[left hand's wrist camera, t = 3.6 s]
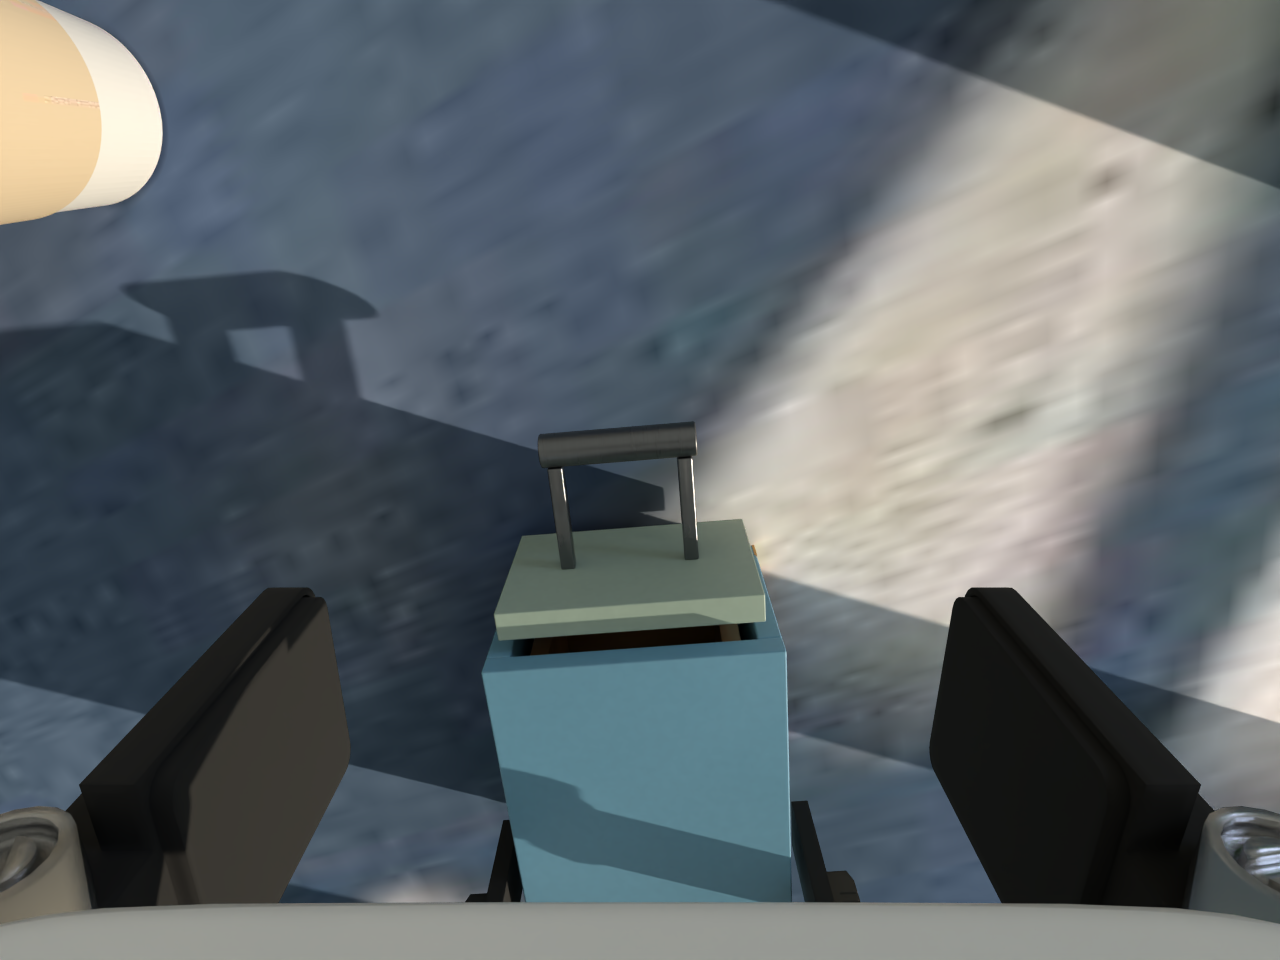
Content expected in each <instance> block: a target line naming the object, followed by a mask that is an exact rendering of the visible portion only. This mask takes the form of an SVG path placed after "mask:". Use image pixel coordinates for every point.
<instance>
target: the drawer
mask: <svg viewBox="0 0 1280 960" xmlns="http://www.w3.org/2000/svg"><path fill="white" fill-rule="evenodd" d="M538 455H539V461H540V464H541V467H542V468H548V470H547V471H548V478H549V485H550V492H551V499H552V506H553V514H554V521H555V528H556V533H555V534H542V535H529V536H522V538H521V541H520V543H519V546H518V549H517V552H516V554H515V557H514V560H513V563H512V566H511V568H510V571H509V574H508V577H507V579H506V582H505V585H504V588H503V591H502V593H501V596H500V599H499V602H498V604H497V607H496V610H495V613H494V619H495V624H496V630H497V635H498V640H499V641H502V640H516V639H530V638H535V639H534V643H533V647H532V651H531V655H530V656H532V655H546V654H560V653H574V652H588V651H602V650H616V649H630V648H644V647H658V646H672V645H686V644H699V643H713V642H727V641H741V637H740V632H739V627H738V623H750V622H764V621H766V611H765V593H764V590H763V587H762V583H761V580H760V577H759V573H758V570H757V567H756V563H755V560H754V557H753V553H752V550H751V547H750V543H749V540H748V537H747V533H746V530H745V527H744V524H743V520H742V519H735V520H722V521H709V522H697V521H696V505H695V490H694V475H693V460H692V456H696V455H697V438H696V427H695V423H694V422H681V423H669V424H657V425H645V426H633V427H621V428H609V429H597V430H584V431H572V432H560V433H548V434H540V435H539V437H538ZM674 457H677V465H678V479H679V492H680V505H681V519H682V524H671V525H658V526H645V527H632V528H619V529H606V530H593V531H580V532H572V526H571V518H570V511H569V503H568V495H567V488H566V480H565V473H564V466H575V465H588V464H600V463H613V462H625V461H637V460H650V459H662V458H674Z"/></svg>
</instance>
